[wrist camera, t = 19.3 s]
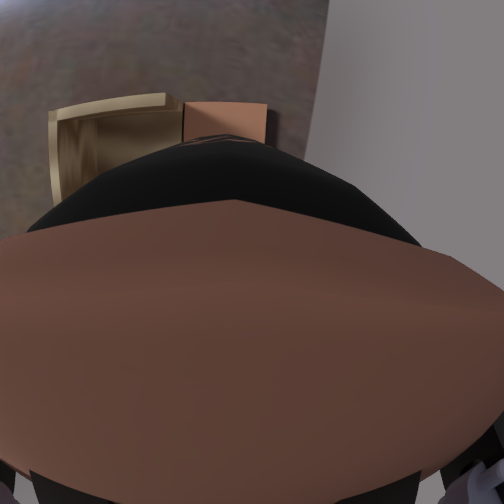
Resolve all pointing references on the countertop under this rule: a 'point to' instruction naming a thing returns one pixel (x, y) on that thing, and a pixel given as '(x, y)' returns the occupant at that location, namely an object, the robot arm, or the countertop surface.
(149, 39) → the countertop surface
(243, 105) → the panel
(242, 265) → the coffee jar
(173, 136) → the box
